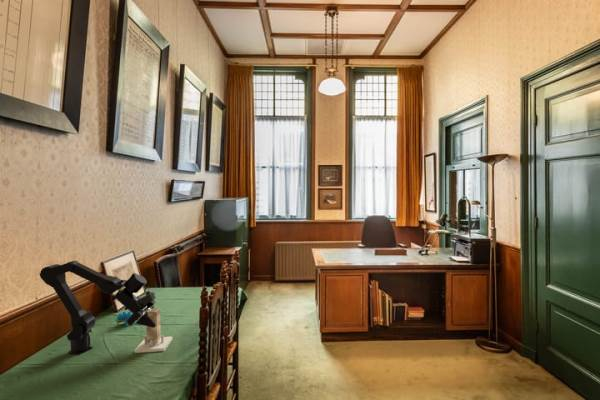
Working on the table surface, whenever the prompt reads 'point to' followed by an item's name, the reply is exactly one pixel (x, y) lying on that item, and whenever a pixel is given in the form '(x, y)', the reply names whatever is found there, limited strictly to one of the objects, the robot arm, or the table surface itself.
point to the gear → (123, 318)
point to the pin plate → (153, 345)
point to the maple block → (156, 331)
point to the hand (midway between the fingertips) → (156, 324)
